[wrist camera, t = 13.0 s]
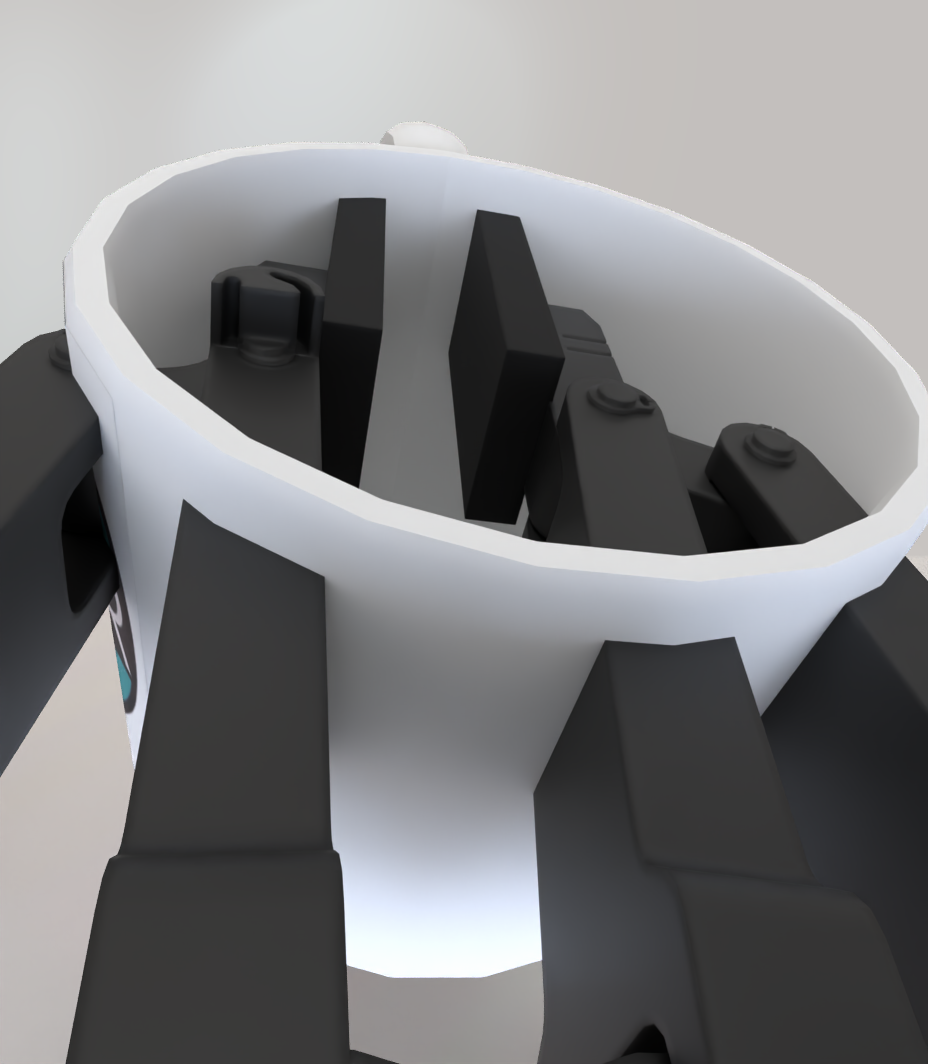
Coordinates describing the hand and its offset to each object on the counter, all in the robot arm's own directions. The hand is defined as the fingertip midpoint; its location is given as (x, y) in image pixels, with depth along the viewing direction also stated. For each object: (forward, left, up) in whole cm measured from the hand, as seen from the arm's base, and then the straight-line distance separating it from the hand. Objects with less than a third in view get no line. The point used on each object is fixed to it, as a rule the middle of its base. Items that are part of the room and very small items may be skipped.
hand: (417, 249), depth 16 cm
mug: (-3, +4, -6) cm, 8 cm away
